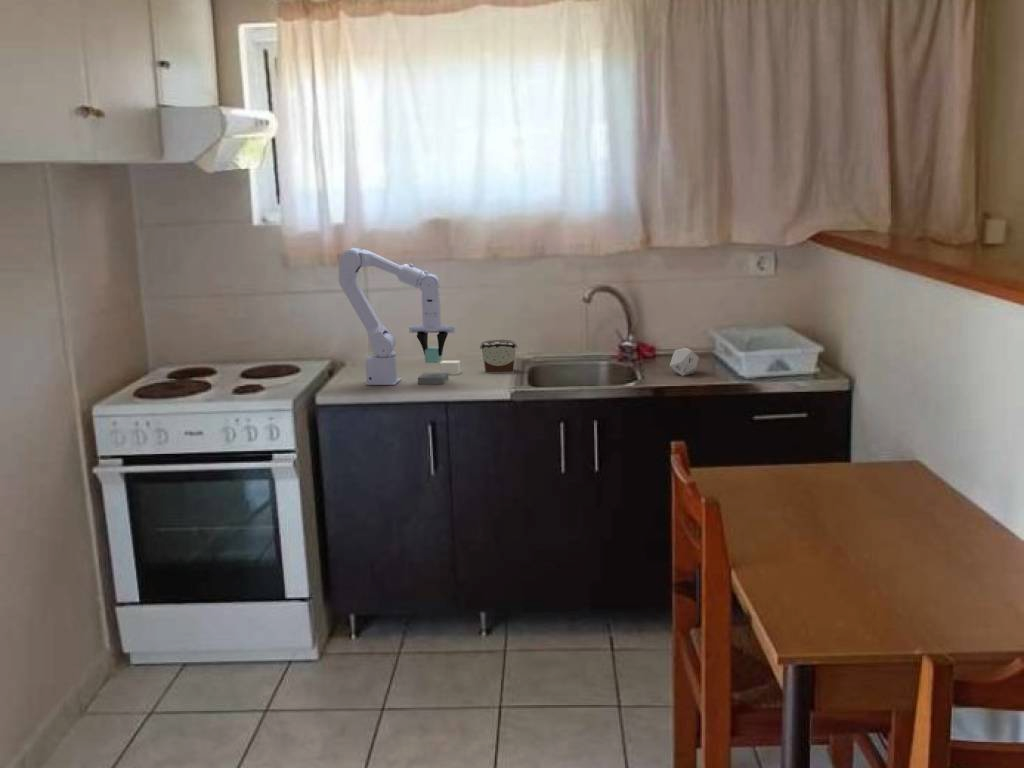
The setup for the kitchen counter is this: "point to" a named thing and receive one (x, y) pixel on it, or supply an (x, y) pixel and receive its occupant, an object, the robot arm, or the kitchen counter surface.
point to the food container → (498, 355)
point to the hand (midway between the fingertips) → (433, 355)
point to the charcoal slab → (433, 378)
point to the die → (684, 361)
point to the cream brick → (450, 367)
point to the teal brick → (432, 355)
